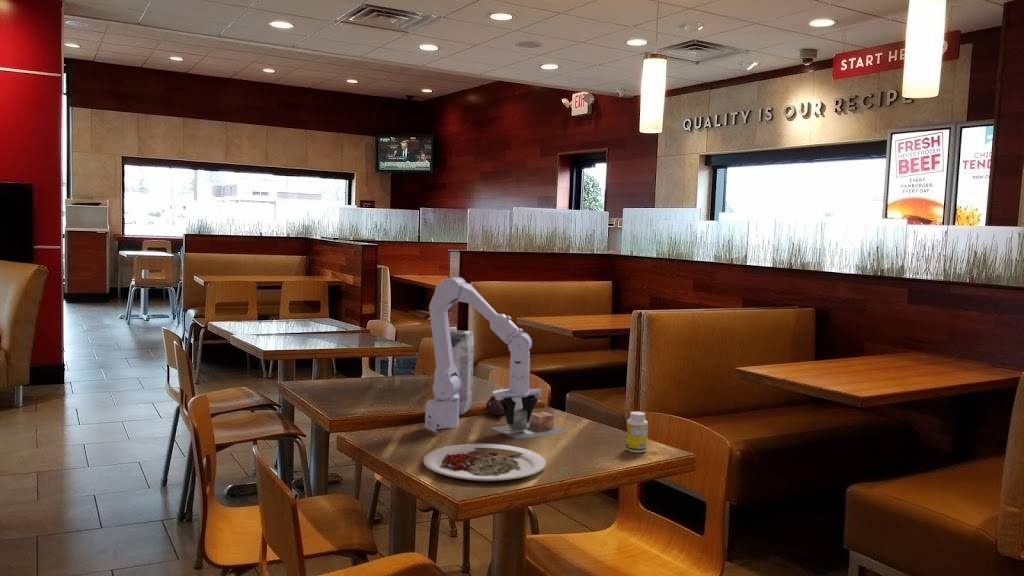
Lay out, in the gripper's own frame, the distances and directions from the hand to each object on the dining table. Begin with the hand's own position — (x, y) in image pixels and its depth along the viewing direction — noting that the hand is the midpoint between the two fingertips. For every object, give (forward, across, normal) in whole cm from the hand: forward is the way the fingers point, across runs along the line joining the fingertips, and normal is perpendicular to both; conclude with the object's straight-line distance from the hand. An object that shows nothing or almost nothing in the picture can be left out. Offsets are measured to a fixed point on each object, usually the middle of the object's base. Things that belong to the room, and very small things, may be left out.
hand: (517, 422), depth 224 cm
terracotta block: (+2, +8, 0) cm, 9 cm away
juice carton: (+4, -2, +33) cm, 33 cm away
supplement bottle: (+4, +20, -28) cm, 35 cm away
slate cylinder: (+2, 0, 0) cm, 2 cm away
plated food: (+4, -24, -22) cm, 33 cm away
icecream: (+4, +6, +20) cm, 21 cm away
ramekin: (+4, +17, +31) cm, 36 cm away
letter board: (+3, +4, 0) cm, 5 cm away
